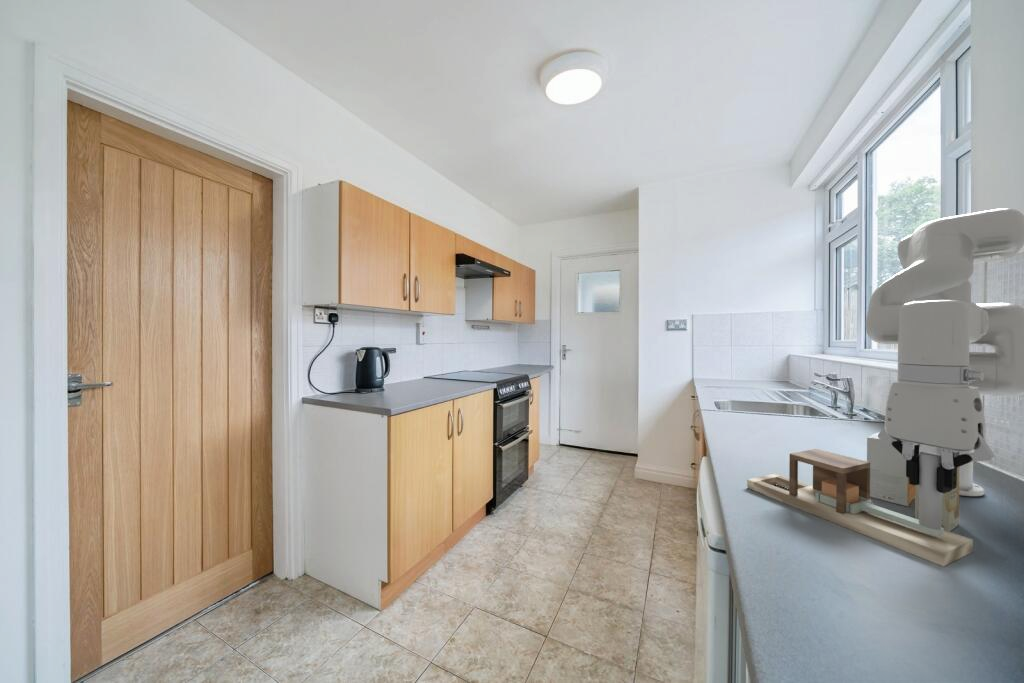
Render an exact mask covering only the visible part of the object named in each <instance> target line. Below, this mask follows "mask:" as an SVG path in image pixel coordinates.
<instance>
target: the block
mask: <svg viewBox="0 0 1024 683" xmlns="http://www.w3.org/2000/svg"><path fill="white" fill-rule="evenodd" d="M836 481H837V479H834V478H833V479H829V480H825V481H822V494H824V495H827V496H829V497H832V498H835V499H836ZM846 502H847V503H850V505H851V504H855V503H858V502H859V486H857V485H853V484H850V483H847V482H846Z"/></svg>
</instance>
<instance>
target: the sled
mask: <svg viewBox="0 0 1024 683" xmlns="http://www.w3.org/2000/svg"><path fill="white" fill-rule="evenodd" d="M941 463H942V459H941V455H939V454H935V453H929V452H919V520H918V519H915V517H911V516H908V515H906V514H902V513H900V512H896V511H893V510H890V509H887V508H885V507H881V506H878V505H877V504H876V505H875V504H873V500H871V499H870V500H869V499H868V500H867V499H866V498H863V497H859V502H858V503H855V504H851V505H850V503H847V502H846V511H847V512H850V513H852V514H855V513H859V512H862V511H866V512H869V513H872V514H874V515H877V516H880V517H883V518H886V519H889V520H892V521H894V522H897V523H900V524H903V525H906V526H909V527H912V528H914V529H917V530H920V531H923V532H926V533H929V534H931V535H934V536H937V537H938V536H941V535H943V534H944V528H942V527H941V515H942V493H940V492H938V491H937V468H938V467H941ZM816 500H817V501H820V502H822V503H825V504H828V505H830V506H833V507H836V499H835V498H832V497H829V496H827V495H824V494H822V491H820V492H816Z"/></svg>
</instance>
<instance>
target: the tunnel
mask: <svg viewBox="0 0 1024 683" xmlns="http://www.w3.org/2000/svg"><path fill="white" fill-rule="evenodd" d="M799 462H801V463H804V464H807V465H811V466H812V486H813V489H816V490H819V491H822V481H825V480H829V479H833V478H834V479H837V481H836V512H838V513H841V514H845V513H846V482H847V483H850V484H853V485H857V486H859V497H863V498H866V499H867V500H868V499H869V500H871V497H870V462H867V460H861V459H858V458H853V457H850V456H846V455H843V454H842V455H841V454H838V453H833V452H830V451H826V450H821V449H819V448H818V449H817V448H813V449H808V450H802V451H797V452H791V453H789V462H788V463H789V468H788V469H789V472H788V473H789V474H788V475H789V477H788V478H789V490H788V491H789V494H790V495H793V496H798V481H799V478H798V477H799V476H798V475H799Z"/></svg>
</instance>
